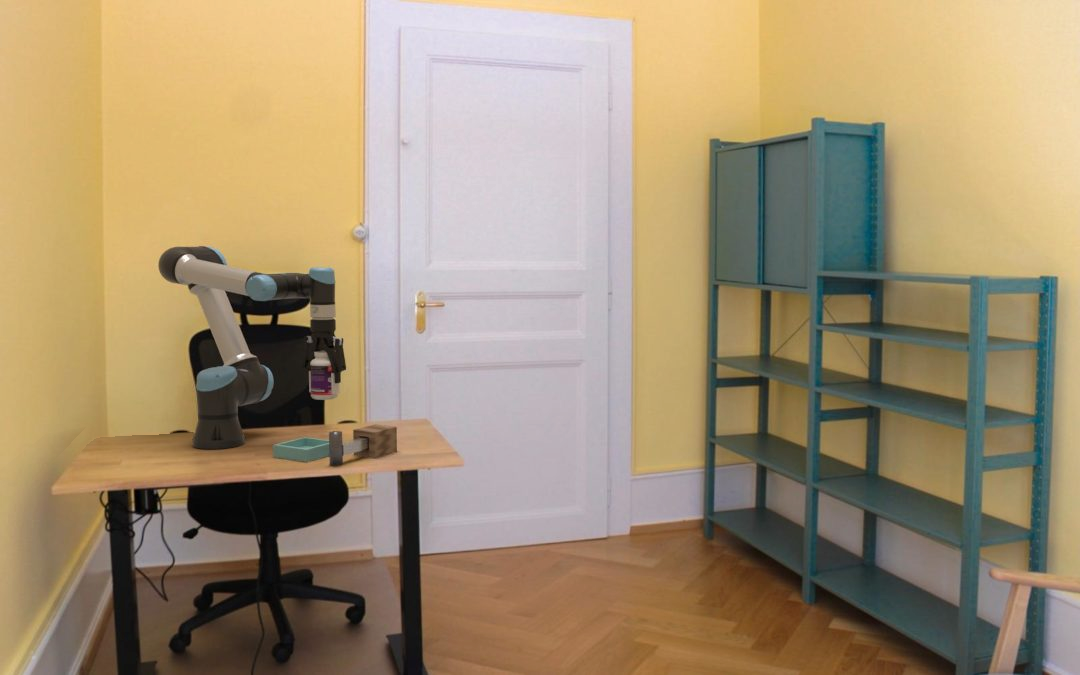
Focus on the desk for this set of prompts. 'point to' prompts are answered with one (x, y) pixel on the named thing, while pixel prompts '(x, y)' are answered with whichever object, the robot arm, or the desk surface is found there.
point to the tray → (302, 449)
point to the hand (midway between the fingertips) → (324, 392)
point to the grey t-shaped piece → (344, 447)
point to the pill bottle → (321, 377)
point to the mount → (377, 440)
